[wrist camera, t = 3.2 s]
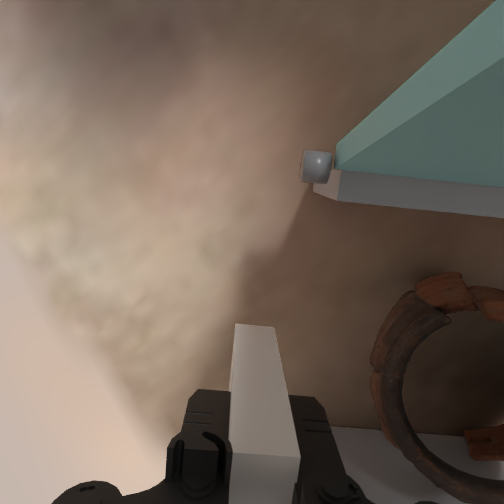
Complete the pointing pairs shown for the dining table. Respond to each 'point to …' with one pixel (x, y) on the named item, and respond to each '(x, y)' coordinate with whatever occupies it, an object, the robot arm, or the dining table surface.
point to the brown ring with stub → (393, 368)
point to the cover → (441, 115)
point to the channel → (373, 441)
